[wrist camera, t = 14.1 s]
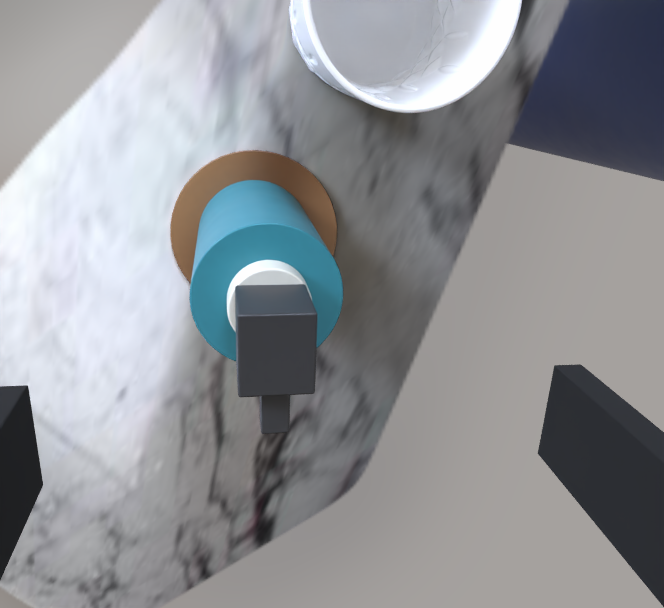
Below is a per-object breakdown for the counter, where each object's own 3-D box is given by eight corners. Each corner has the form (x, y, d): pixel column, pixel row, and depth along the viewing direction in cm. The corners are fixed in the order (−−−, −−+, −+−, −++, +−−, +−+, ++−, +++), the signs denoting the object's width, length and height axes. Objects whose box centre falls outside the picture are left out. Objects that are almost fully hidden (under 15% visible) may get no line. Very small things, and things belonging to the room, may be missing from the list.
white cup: (304, -102, 28) (346, -190, 19) (455, -36, 30) (559, -85, 21) (257, 72, 30) (273, 70, 21) (400, 122, 32) (472, 141, 23)
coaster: (340, 152, 32) (340, 152, 32) (333, 309, 35) (333, 310, 35) (166, 147, 31) (165, 148, 30) (174, 312, 34) (174, 314, 34)
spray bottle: (196, 178, 31) (178, 254, 18) (310, 180, 32) (373, 253, 19) (200, 302, 34) (188, 447, 20) (307, 299, 35) (360, 436, 21)
